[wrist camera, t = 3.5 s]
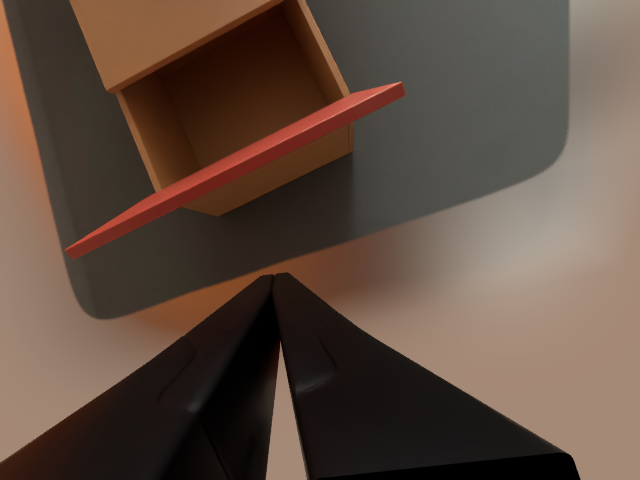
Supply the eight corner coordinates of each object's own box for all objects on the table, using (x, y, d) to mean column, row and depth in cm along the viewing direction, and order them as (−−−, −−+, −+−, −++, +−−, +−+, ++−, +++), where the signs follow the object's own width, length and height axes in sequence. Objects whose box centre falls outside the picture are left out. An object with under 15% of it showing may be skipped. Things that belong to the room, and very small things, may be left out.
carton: (353, 151, 21) (355, 94, 13) (218, 216, 22) (148, 198, 14) (285, 10, 22) (252, -117, 14) (159, 78, 23) (65, -7, 15)
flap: (353, 92, 14) (356, 101, 14) (148, 196, 14) (153, 202, 15) (402, 80, 8) (406, 95, 8) (62, 250, 9) (73, 260, 9)
